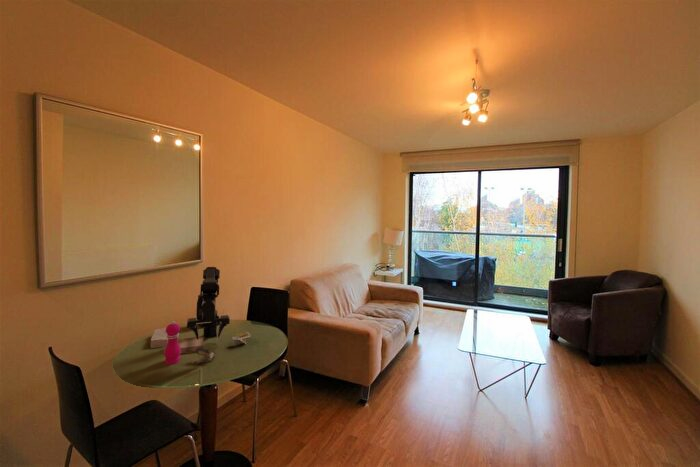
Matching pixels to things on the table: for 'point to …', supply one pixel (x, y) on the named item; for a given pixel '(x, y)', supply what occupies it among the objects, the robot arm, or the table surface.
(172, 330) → the pepper mill
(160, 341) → the brick
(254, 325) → the table surface
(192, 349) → the plinth
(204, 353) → the eagle figurine
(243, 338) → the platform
